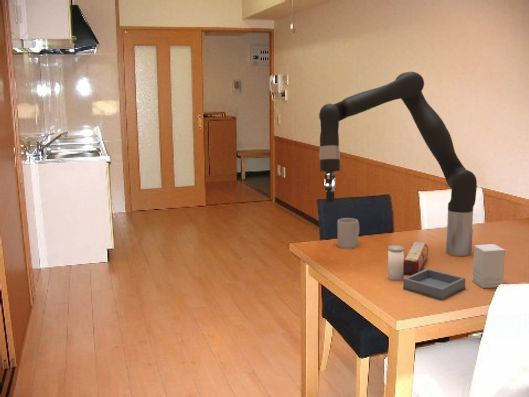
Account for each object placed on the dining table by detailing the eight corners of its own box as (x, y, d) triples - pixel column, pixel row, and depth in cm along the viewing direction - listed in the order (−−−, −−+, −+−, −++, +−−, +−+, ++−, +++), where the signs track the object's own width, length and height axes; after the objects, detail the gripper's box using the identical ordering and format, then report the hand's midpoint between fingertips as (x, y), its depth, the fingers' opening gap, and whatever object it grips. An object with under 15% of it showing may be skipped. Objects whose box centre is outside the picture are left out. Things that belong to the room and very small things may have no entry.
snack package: (419, 277, 190) (420, 258, 188) (400, 275, 192) (400, 256, 191) (428, 259, 209) (428, 242, 207) (410, 257, 211) (411, 240, 210)
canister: (393, 274, 193) (394, 244, 191) (406, 277, 189) (407, 247, 187) (384, 277, 190) (385, 247, 187) (397, 281, 186) (397, 250, 183)
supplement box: (503, 287, 178) (506, 249, 175) (481, 288, 177) (483, 251, 175) (492, 279, 185) (494, 243, 182) (471, 280, 184) (473, 244, 182)
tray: (427, 278, 188) (427, 268, 187) (465, 288, 178) (465, 278, 177) (403, 288, 179) (403, 278, 178) (441, 300, 169) (442, 289, 168)
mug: (350, 250, 222) (350, 223, 220) (333, 246, 228) (333, 220, 226) (366, 243, 231) (367, 218, 229) (350, 240, 237) (350, 215, 234)
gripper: (338, 157, 195) (339, 202, 195) (341, 159, 209) (341, 201, 209) (317, 157, 197) (318, 202, 197) (321, 160, 211) (322, 202, 211)
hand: (330, 202), depth 203 cm, fingers open, 8 cm apart
